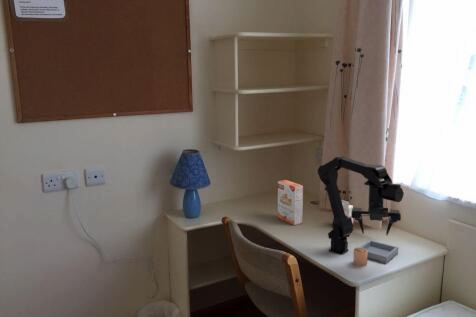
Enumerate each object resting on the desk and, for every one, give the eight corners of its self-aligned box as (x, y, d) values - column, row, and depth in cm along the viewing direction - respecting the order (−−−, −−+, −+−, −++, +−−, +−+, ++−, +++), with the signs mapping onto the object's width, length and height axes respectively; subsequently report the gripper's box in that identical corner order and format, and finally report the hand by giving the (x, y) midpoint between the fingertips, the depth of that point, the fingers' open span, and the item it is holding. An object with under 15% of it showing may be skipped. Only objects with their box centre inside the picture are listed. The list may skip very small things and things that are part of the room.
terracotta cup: (350, 264, 180) (351, 250, 179) (356, 259, 184) (357, 246, 183) (363, 267, 177) (364, 253, 175) (369, 263, 181) (370, 249, 180)
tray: (356, 255, 188) (357, 248, 188) (369, 246, 198) (370, 239, 197) (386, 263, 180) (386, 257, 179) (398, 253, 190) (398, 247, 189)
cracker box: (276, 218, 235) (277, 180, 231) (285, 216, 238) (286, 179, 234) (293, 226, 223) (294, 186, 219) (302, 223, 227) (303, 184, 222)
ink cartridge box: (353, 227, 220) (354, 200, 217) (348, 230, 217) (349, 202, 214) (338, 223, 226) (339, 196, 223) (333, 226, 223) (334, 198, 220)
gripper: (351, 201, 169) (350, 239, 172) (402, 203, 164) (401, 243, 167) (352, 194, 179) (351, 230, 182) (400, 196, 174) (398, 233, 177)
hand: (374, 234), depth 177 cm, fingers open, 9 cm apart
